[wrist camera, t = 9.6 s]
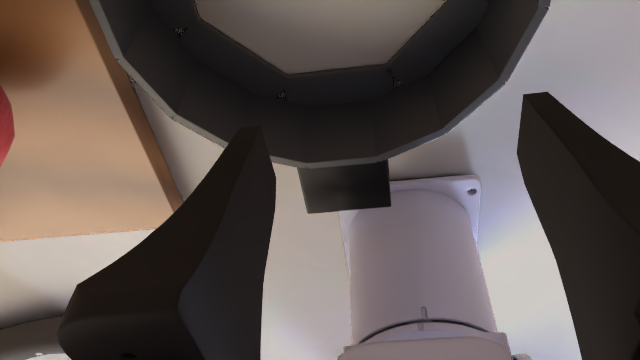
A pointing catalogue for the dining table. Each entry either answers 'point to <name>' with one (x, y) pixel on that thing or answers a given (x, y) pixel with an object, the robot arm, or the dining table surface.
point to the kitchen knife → (30, 339)
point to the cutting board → (74, 130)
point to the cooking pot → (323, 89)
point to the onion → (5, 125)
